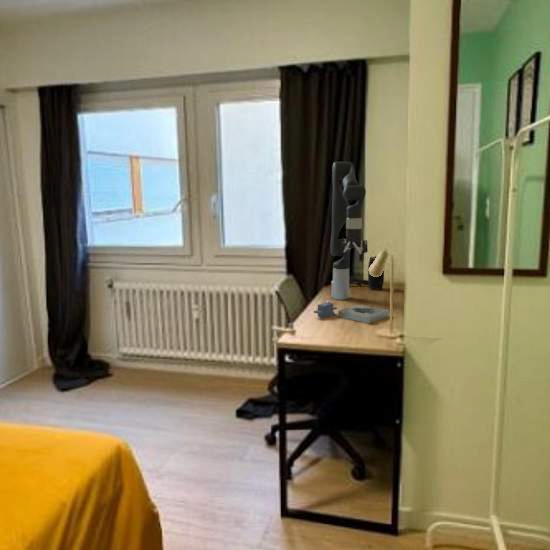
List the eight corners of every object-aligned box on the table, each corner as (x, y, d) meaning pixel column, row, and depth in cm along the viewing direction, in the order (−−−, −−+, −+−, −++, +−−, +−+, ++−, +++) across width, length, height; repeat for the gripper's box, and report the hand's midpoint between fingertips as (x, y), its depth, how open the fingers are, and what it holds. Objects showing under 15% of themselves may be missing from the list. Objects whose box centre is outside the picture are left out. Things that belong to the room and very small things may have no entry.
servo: (313, 317, 244) (313, 303, 242) (330, 312, 253) (330, 299, 251) (320, 319, 241) (320, 305, 240) (336, 313, 250) (336, 300, 249)
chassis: (338, 316, 244) (338, 310, 244) (358, 310, 256) (358, 304, 256) (369, 323, 232) (369, 317, 231) (389, 316, 244) (389, 310, 243)
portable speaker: (385, 290, 300) (386, 258, 296) (370, 290, 299) (370, 258, 296) (381, 287, 308) (381, 255, 305) (366, 287, 308) (366, 256, 304)
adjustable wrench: (374, 294, 311) (335, 285, 314) (374, 293, 314) (335, 284, 317) (377, 281, 309) (338, 272, 313) (377, 280, 312) (338, 272, 315)
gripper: (370, 227, 239) (370, 261, 242) (346, 226, 249) (346, 258, 252) (361, 228, 234) (361, 263, 237) (337, 227, 244) (337, 260, 247)
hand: (353, 260), depth 244 cm, fingers open, 8 cm apart
